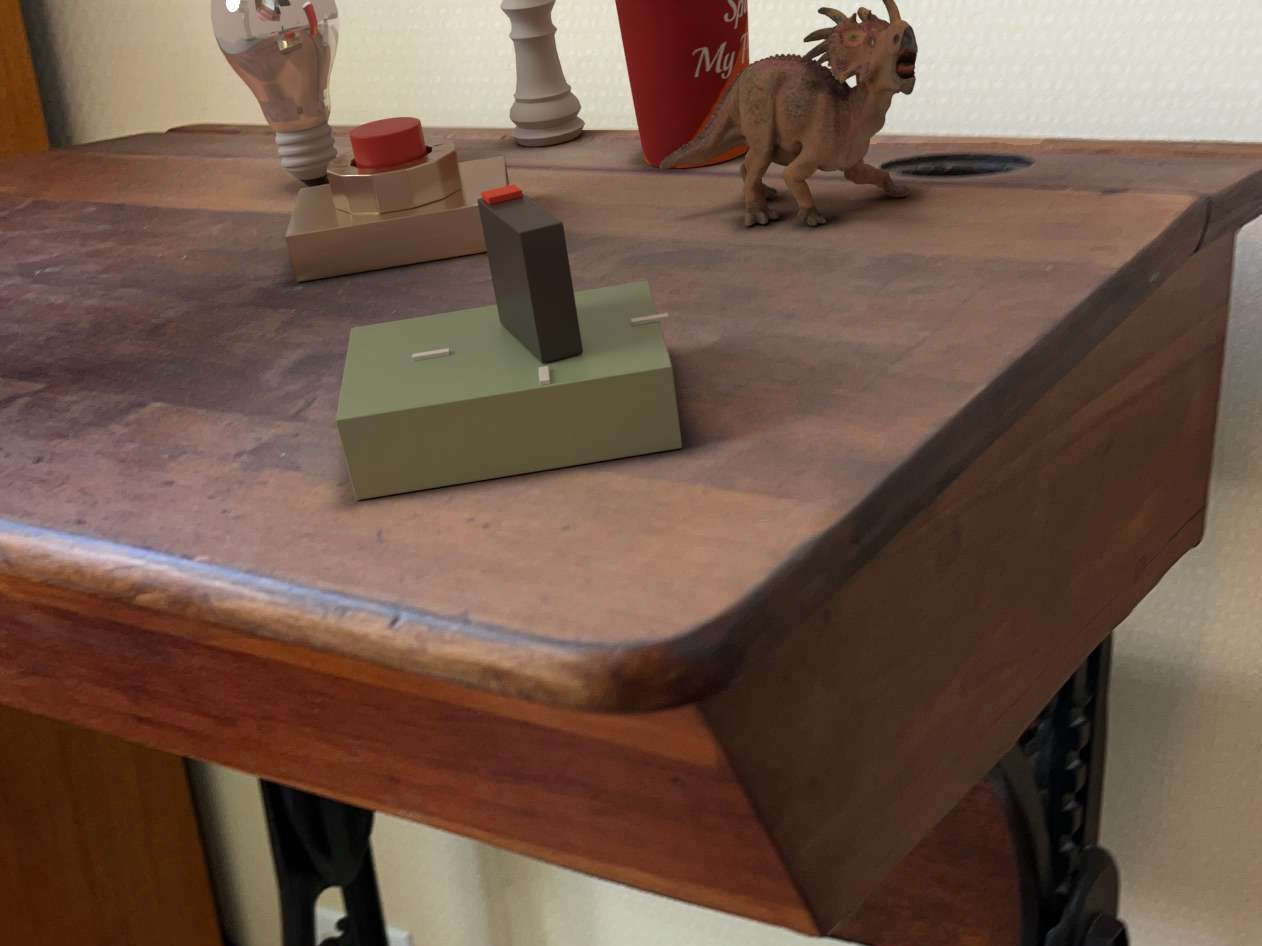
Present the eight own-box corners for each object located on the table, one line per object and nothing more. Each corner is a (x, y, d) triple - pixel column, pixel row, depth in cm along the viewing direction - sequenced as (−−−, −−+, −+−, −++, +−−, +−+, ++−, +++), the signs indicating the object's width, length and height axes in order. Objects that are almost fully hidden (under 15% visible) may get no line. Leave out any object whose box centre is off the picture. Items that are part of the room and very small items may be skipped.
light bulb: (392, 177, 95) (340, -65, 88) (282, 209, 93) (218, -37, 85) (346, 159, 100) (292, -71, 92) (240, 189, 98) (176, -45, 90)
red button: (355, 179, 81) (346, 141, 80) (359, 161, 84) (351, 124, 83) (427, 167, 81) (419, 129, 80) (428, 150, 84) (421, 112, 83)
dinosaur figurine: (963, 191, 79) (961, -31, 73) (920, 230, 75) (915, -1, 69) (710, 189, 85) (689, -17, 79) (658, 225, 81) (632, 12, 75)
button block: (297, 282, 82) (274, 196, 79) (310, 231, 88) (290, 151, 86) (515, 247, 81) (500, 160, 79) (512, 199, 88) (498, 117, 86)
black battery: (583, 353, 60) (561, 214, 56) (542, 364, 59) (518, 225, 56) (539, 313, 64) (516, 182, 61) (499, 323, 63) (475, 191, 60)
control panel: (355, 500, 60) (333, 415, 58) (368, 401, 67) (349, 323, 65) (691, 447, 59) (681, 359, 57) (666, 354, 67) (656, 274, 65)
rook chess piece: (572, 122, 100) (550, -29, 95) (596, 135, 97) (574, -21, 92) (503, 138, 99) (476, -14, 94) (524, 152, 96) (498, -5, 91)
